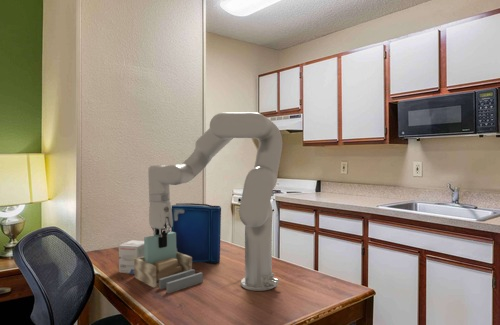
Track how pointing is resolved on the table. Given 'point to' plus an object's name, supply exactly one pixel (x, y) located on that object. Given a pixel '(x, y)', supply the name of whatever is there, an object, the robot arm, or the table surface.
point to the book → (197, 231)
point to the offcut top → (166, 264)
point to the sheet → (155, 252)
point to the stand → (180, 281)
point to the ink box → (130, 255)
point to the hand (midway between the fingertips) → (160, 246)
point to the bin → (148, 271)
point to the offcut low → (168, 273)
